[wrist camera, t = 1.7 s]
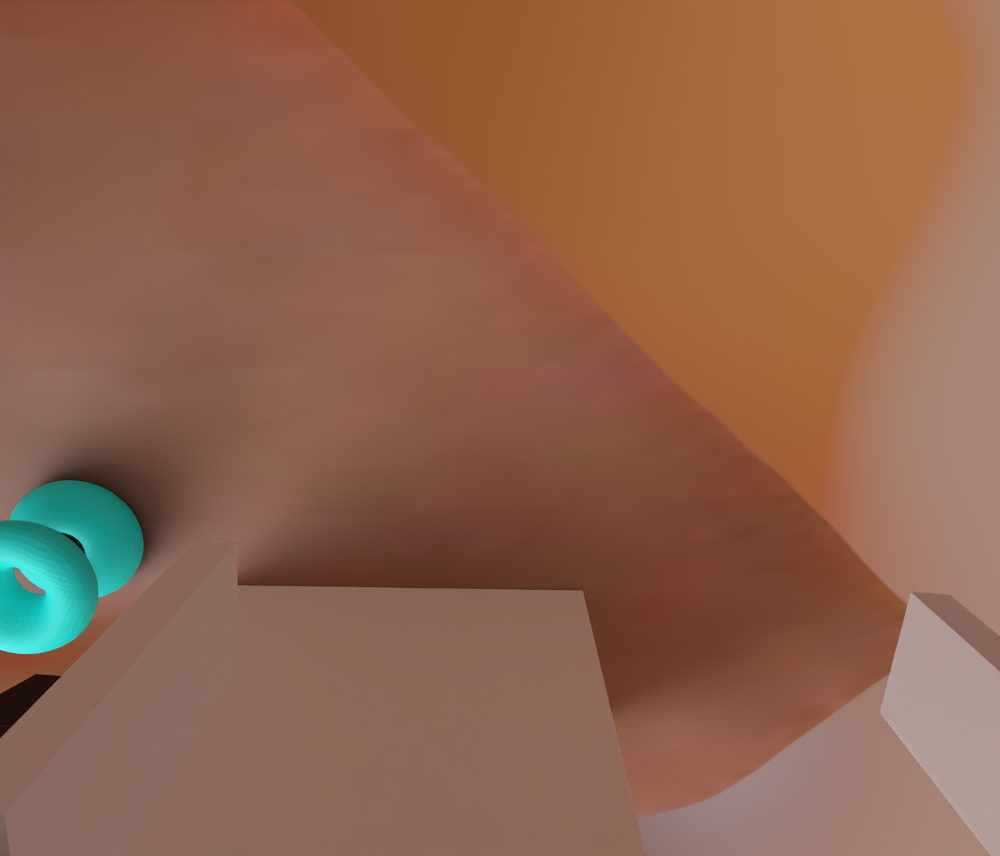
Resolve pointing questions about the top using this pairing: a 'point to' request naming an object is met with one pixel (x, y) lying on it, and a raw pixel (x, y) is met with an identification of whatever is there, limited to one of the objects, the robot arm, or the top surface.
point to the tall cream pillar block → (404, 732)
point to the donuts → (63, 562)
